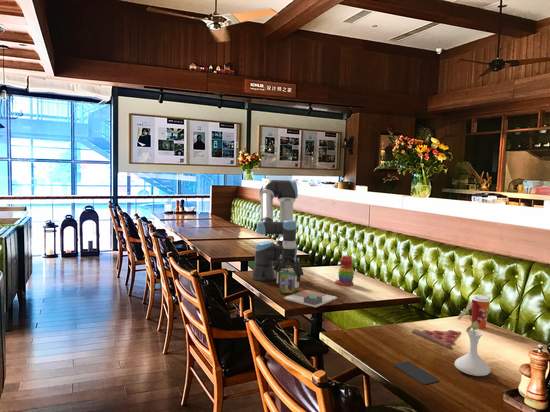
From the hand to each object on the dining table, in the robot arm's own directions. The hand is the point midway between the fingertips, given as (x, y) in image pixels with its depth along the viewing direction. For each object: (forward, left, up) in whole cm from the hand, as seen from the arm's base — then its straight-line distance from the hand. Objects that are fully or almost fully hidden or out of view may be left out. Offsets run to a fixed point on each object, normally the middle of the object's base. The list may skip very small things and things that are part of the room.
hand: (287, 285), depth 238 cm
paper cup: (+97, +16, -4) cm, 98 cm away
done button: (+24, -10, -1) cm, 26 cm away
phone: (+92, -49, -4) cm, 104 cm away
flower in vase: (+106, -35, -4) cm, 112 cm away
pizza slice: (+89, -7, -4) cm, 89 cm away
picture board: (+18, -3, -4) cm, 19 cm away
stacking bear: (+16, +38, -4) cm, 41 cm away
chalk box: (0, 0, -4) cm, 4 cm away
